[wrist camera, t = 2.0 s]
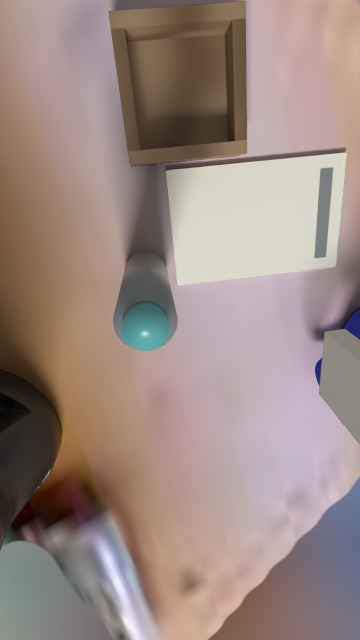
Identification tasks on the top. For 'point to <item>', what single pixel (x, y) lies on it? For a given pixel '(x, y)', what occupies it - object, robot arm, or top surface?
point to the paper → (255, 217)
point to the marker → (145, 303)
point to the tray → (182, 81)
